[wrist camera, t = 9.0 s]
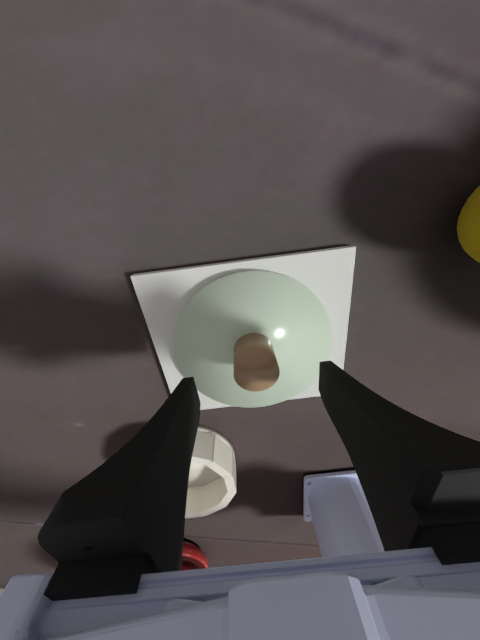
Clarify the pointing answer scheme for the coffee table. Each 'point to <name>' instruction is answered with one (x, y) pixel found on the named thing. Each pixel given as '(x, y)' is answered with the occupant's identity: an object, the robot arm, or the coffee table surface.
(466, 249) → the lemon
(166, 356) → the mat
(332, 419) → the robot arm
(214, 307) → the lid
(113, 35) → the coffee table surface
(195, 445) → the dish
